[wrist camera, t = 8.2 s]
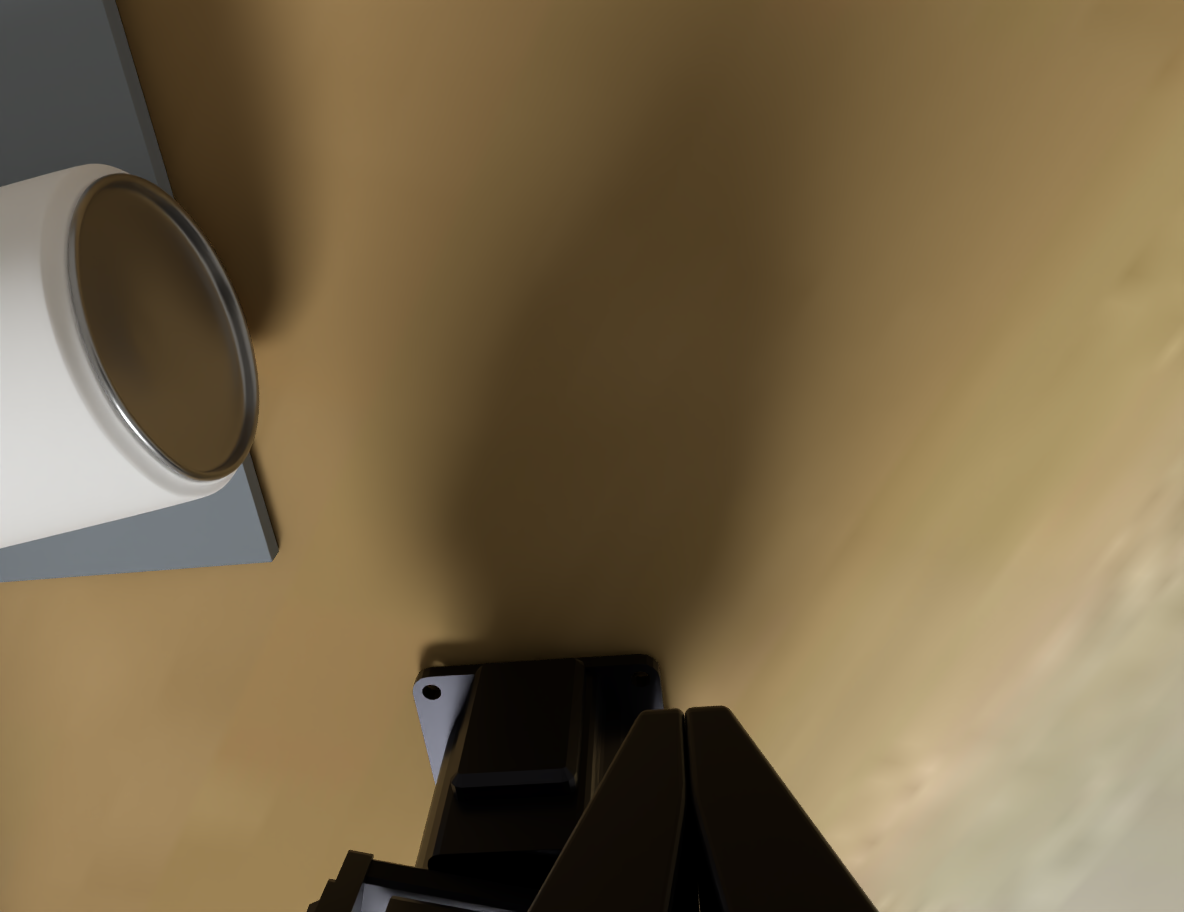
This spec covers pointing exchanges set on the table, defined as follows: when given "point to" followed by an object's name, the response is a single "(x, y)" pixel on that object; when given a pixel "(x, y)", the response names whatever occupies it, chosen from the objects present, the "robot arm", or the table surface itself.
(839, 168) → the table surface
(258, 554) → the mat
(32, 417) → the can
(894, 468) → the table surface
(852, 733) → the table surface
